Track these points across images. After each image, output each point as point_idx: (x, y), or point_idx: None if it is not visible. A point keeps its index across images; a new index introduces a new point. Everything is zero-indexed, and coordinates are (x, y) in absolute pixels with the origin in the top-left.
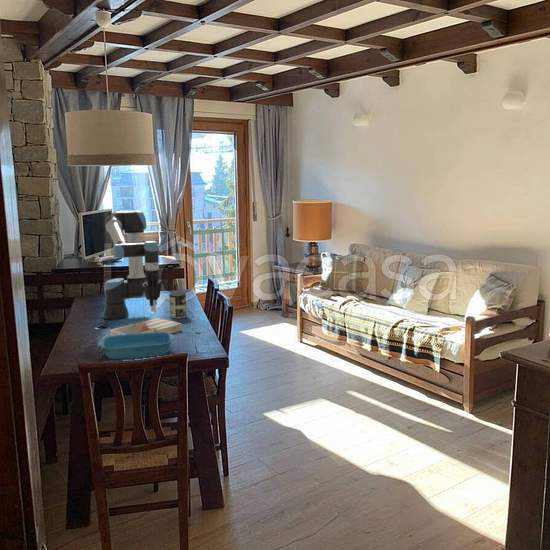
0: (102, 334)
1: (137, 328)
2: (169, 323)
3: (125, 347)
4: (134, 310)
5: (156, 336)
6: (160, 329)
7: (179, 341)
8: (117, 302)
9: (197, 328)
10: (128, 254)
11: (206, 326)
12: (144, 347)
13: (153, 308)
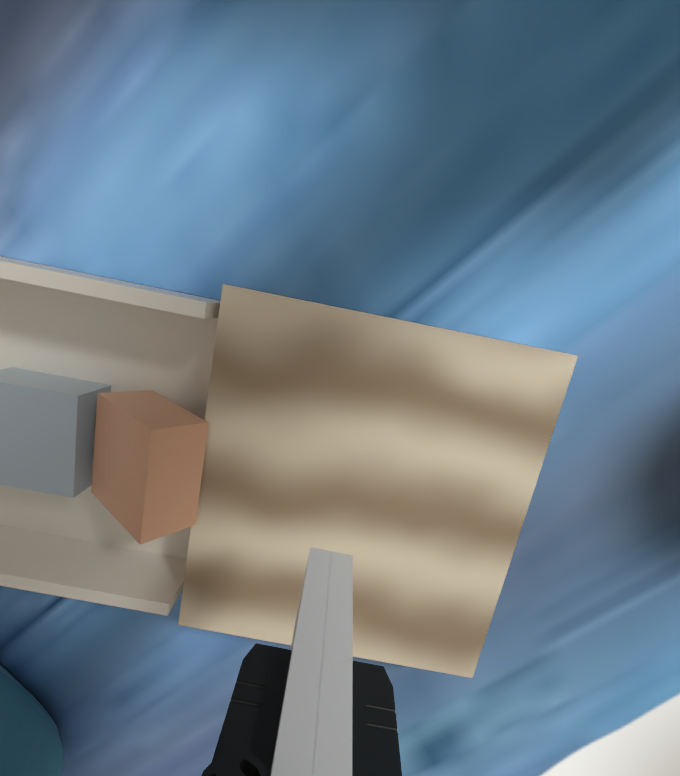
0: (6, 77)
1: (111, 455)
2: (424, 593)
3: None
4: None
5: (2, 760)
6: (226, 630)
7: (208, 753)
8: None
9: (547, 691)
10: None
11: (624, 716)
12: None
13: (290, 649)
